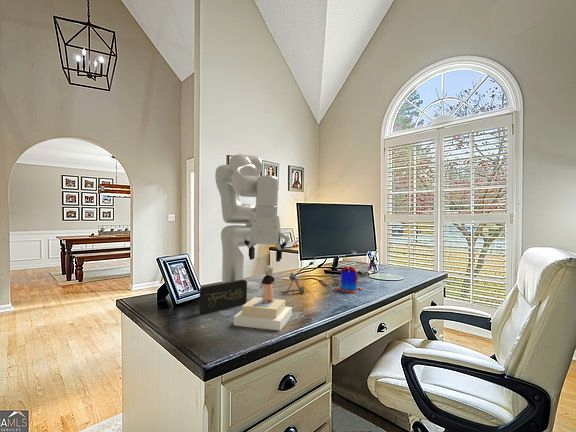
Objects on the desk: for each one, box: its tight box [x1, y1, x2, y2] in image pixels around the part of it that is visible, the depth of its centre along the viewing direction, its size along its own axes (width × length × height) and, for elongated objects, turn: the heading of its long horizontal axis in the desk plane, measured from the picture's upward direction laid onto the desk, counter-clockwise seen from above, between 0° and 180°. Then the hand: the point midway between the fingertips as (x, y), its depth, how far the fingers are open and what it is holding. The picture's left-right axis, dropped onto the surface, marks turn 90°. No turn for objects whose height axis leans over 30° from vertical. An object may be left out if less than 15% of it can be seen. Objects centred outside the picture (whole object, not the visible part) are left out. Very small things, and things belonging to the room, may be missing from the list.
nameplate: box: [198, 279, 248, 315], centre depth 122 cm, size 21×2×10 cm, turn 138°
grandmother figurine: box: [259, 265, 276, 303], centre depth 111 cm, size 8×4×13 cm, turn 155°
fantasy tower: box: [333, 265, 364, 294], centre depth 158 cm, size 12×12×12 cm
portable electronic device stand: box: [286, 272, 305, 295], centre depth 152 cm, size 9×8×8 cm
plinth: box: [233, 296, 293, 331], centre depth 110 cm, size 16×16×6 cm
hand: (264, 260), depth 110 cm, fingers open, 9 cm apart
